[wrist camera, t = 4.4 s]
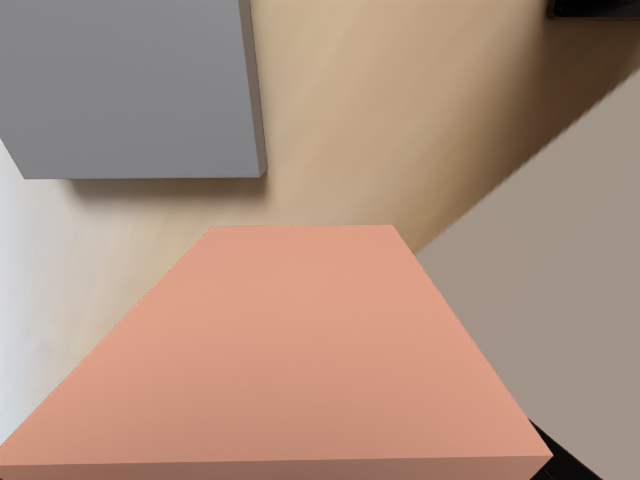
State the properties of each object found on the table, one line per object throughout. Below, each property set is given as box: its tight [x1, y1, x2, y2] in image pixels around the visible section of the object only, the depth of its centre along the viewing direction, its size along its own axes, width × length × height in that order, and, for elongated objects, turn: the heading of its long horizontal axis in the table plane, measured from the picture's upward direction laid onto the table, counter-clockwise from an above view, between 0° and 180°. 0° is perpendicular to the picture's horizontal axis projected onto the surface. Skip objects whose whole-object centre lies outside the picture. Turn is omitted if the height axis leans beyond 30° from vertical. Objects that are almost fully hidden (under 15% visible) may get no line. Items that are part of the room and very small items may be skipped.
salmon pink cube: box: [0, 225, 553, 480], centre depth 7 cm, size 6×6×6 cm
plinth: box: [0, 0, 267, 179], centre depth 12 cm, size 14×14×2 cm
